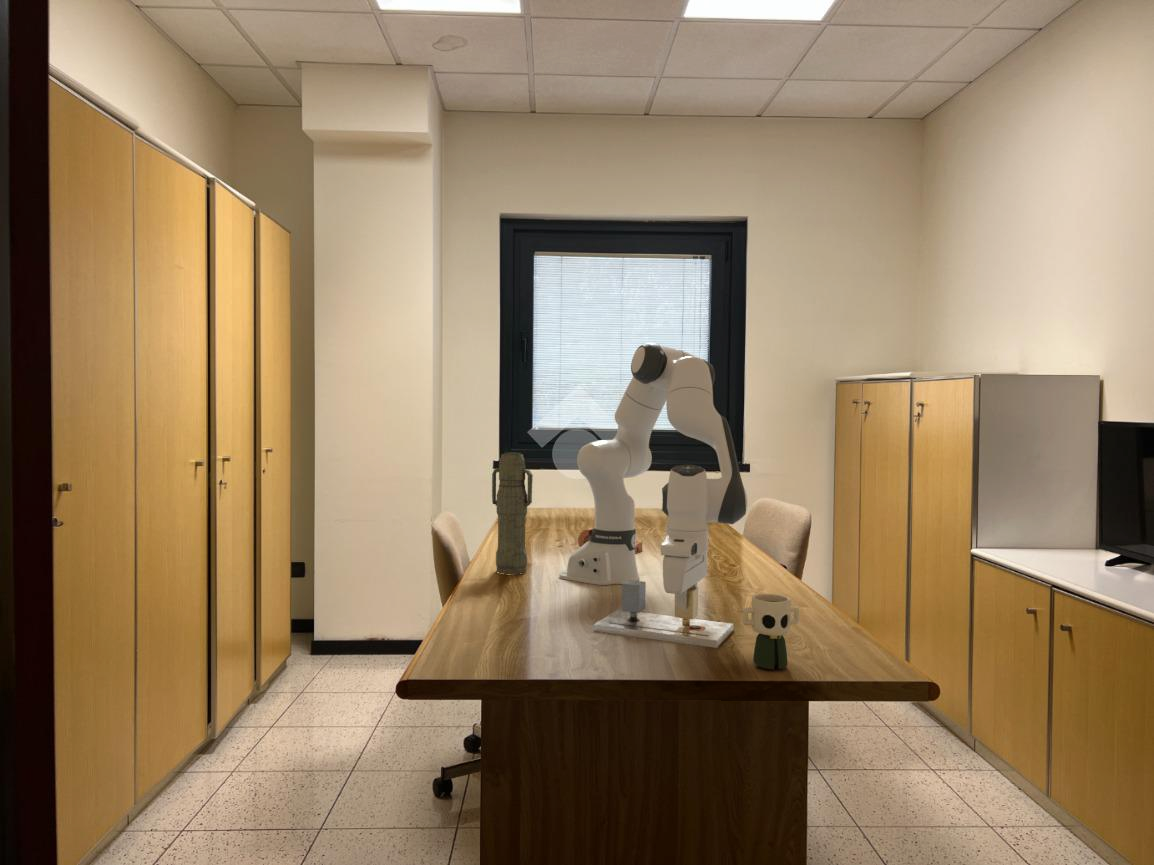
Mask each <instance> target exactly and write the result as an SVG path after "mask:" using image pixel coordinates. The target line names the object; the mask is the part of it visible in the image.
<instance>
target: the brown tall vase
mask: <svg viewBox="0 0 1154 865" xmlns="http://www.w3.org/2000/svg"><path fill="white" fill-rule="evenodd" d="M497 474H498V480H499V484H498V491H497ZM526 475H527V489H526V483H525V480H526ZM491 476H492V477H491V498H492V505H495V506H496V514H497V518H498V519H497V549H496V552H495V565H496V573H497V572H499V573H504V574H520V573H524V572H526V573H527V565H528V552H527V551H528V550H527V547H526V515H527V514H528V507H529V506H530V505H532V502H533V476H534V475H533V473H532V471H531V470H530V469H526V460H525V458H524V454H522V453H521V452H515V451H514V452H512V451H511V452H504V453H501V455H500V459H499V462H498V468H495V469H494V470H493V471H492V473H491ZM524 574H525V573H524ZM520 575H521V574H520Z"/></svg>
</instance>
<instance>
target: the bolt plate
mask: <svg viewBox="0 0 1154 865" xmlns="http://www.w3.org/2000/svg"><path fill="white" fill-rule="evenodd" d="M646 588H647V586H646V581H642V580H641V581H640V580H638V581H633V580H628V581H626V582H624V583H622V584H621V609H616V610H615V611H613V612H611V613H610V614H608V615H607V616H605V617H603V618H601V619H600V620H598V621H596V622H595V623H593V631H594V632H598V633H606V634H612V635H619V636H626V637H636V638H641V639H642V638H643V639H649V640H656V641H664V642H671V643H678V644H685V645H692V646H698V647H707V648H714V649H717V648H719V646H720V645H721V644H723V642H724V641H725V640H726V638H728V637H729V635H730V634H731V633H732V632H733V631H734V623H731V622H724V621H716V620H715V621H714V620H705V619H697V618H694V619H690V626H682V618H676V617H674V615H667V614H665V615H664V614H658V613H657V614H656V613H650V612H649V613H648V612H643V611H645V610H646V591H647V590H646Z"/></svg>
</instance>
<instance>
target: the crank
mask: <svg viewBox="0 0 1154 865" xmlns="http://www.w3.org/2000/svg"><path fill="white" fill-rule="evenodd" d="M594 527H595V526H593V527H590V528H587V529H585V530H582V531H581V532H580V533H579V535H578V539H577V543H578V547H579V548H580V547H581V546H582V545H584V544H585V543H586V542H588V541H589V535H588V536H586V535H587V534H588V533H586V532H588V531H589V530H591V529H593V528H594ZM642 551H643V541H641V540H638V539H636V548H635V554H637V553H640V552H642Z"/></svg>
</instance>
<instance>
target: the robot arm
mask: <svg viewBox="0 0 1154 865" xmlns="http://www.w3.org/2000/svg"><path fill="white" fill-rule="evenodd" d="M630 371H631V372H630V373H631V374H632V378H631V379H630V381H629V383H628V384H627V387H626V389H625V391H624V393H623V395H622V398H621V400H620V402H619V404H618V407H617V408H616V411H615V413H614V421H615V423H616V424H617V431H616V435H615V436H614V438H612V439H599V440H594V441H592V442H589V443H587V444H585V445H583V446H582V447H581V448H580V449H579V451H578V453H577V458H576V461H577V462H576V463H577V467H578V470H579V472H580V474H581V475H582V476H583V477H585V479H586V480H587V482H588V484H589V486H590V489H591V493H592V495H593V502H594V503H593V504H594V526H593V527H594V528H593V527H592V528H593V529H591V530H589V531H588V532H586V533H588V534H587V535H586V536H588V535H589V541H588V542H586V543H585V544H584V545H582V546H581V547H579V548H577V549H576V550H574V551H573V552H572V553H571V554H570V556H569V558H568V561H567V567H566V569H564V570H562V571H561V572H560V573H559V575H558V577H559V579H561V580H567V581H568V580H569V581H573V582H581V583H586V584H592V585H596V586H597V585H599V586H608V585H619V584H621V585H622V583H624V582H626V581H628V580H633V581H640V575H639V572H638V566H637V560H636V559H637V558H636V553H635V548H636V540H637V534H636V532H637V531H636V530H637V528H635V507H636V506H635V500H634V499H633V497H632V496H631V495H630V494H629V493H628V492H627V489H626V487H625V486H626V485H625V481H624V479H629V478H631V479H632V478H634V477H637V476H640V475H642V474H644V473H646V472H647V471H648V470H649V469H650V467H651V465H652V460H653V459H652V458H653V456H652V451H651V449H650V439H651V434H652V433H653V432H652V431H653V429H654V427H655V425H656V423H657V421H658V418H659V416H660V414H661V413H662V411H663V409H664V407H666V415H667V420H668V421H669V424H670V425H671V426H672V427H673V428H674V429H675V430H676V431H677V432H679V433H680V434H682V435H684V436H686V437H687V438H688V437H689V438H692V439H695V440H697V441H700V442H702V443H705V444H706V445H709V446H710V447H712V448H713V449H714V451H715V452H716V455H717V460H718V465H719V470H720V474H721V477H719V478H708V477H707V472H706V469H705V468H703V467H702V466H699V465H694V464H681V465H680V464H679V465H675V466H673V467H672V468H671V469H670V471H669V472H670V473H669V476H668V482H667V483H665V485H664V486H663V487H662V488H661V492H662V494H661V495H662V507H661V511H662V512H663V513H664V514H665V515H666V516H667V517H668V519H667V522H666V534H665V538H664V540H663V542H662V543H661V545H660V555H661V556H663V559H662V581H663V582H662V583H663V589H664V591H665V593H666V594H673V595H675V594H676V598H677V601H678V609H679V610H685V609H687V607H688V600H687V598H686V594H687V589H689V588H690V587H698V583H699V582H701V581H702V580H703V579H705V578H706V576H707V574H708V557H707V554H708V553H707V552H708V550H709V525H708V523H719V524H726V525H735V523H737V522H738V521H740V520H741V519H743V518H744V516H745V515H746V513H747V509H748V495H747V492H746V488H745V487H744V484H743V480H742V476H741V472H740V467H739V463H738V458H737V454H736V448H735V444H734V440H733V437H732V432H731V428H730V425H729V423H728V419H727V418H726V417H724V416H723V415H721V414H720V413H719V412H718V411H717V409H716V408H715V405H714V394H713V393H714V391H713V385H714V382H715V379H716V378H715V377H716V373H715V368H714V366H713V365H712V364H711V362H708V361H707V360H706V359H704V358H702V357H699V356H698V357H697V356H696V355H694V354H692V353H689V352H687V351H684V350H681V349H675V348H672V347H668V346H664V345H660V344H659V343H656V342H655V343H654V342H644V343H643V344H641V345H640V346H639V347H637V349H636V350H635V352H634V354H633V356H632V359H631V363H630ZM665 404H666V406H664V405H665Z"/></svg>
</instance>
